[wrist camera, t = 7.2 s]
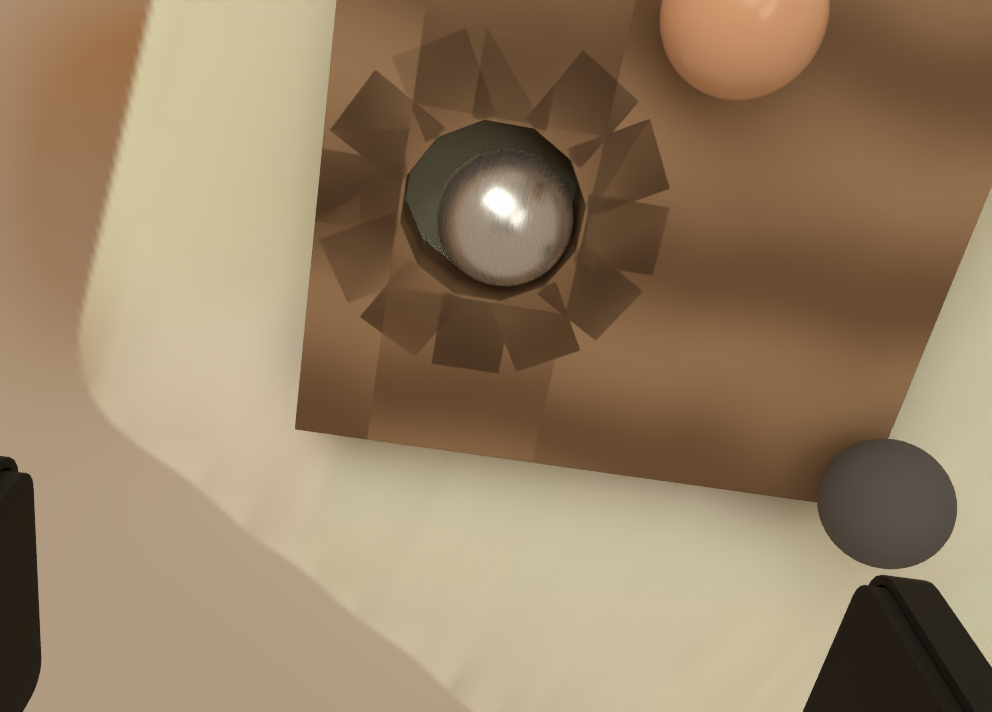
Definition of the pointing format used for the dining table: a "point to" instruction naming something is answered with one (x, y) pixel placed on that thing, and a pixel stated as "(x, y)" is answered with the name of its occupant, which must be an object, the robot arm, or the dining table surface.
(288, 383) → the dining table surface
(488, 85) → the board
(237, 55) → the dining table surface
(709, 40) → the terracotta ball
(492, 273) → the steel ball
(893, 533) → the black ball
